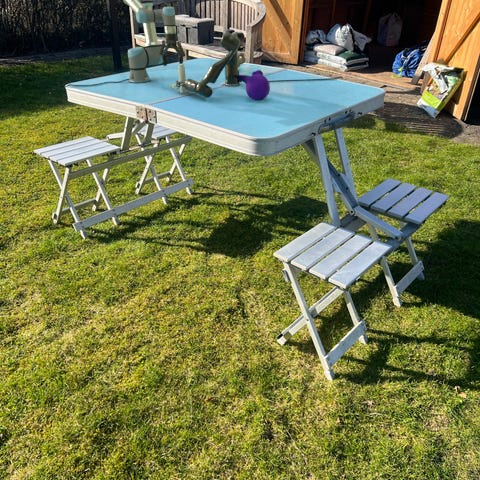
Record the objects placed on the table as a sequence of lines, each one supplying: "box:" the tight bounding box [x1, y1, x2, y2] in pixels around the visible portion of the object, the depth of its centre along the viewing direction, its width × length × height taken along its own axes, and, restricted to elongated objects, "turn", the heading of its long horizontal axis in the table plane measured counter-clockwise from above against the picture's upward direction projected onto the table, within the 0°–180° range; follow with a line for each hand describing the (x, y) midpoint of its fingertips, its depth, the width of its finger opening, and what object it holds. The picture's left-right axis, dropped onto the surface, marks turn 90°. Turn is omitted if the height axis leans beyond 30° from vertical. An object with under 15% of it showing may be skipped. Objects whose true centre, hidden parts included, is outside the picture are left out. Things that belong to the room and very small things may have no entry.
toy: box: [233, 69, 271, 102], centre depth 280 cm, size 16×18×27 cm
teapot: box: [238, 51, 246, 69], centre depth 368 cm, size 21×12×15 cm, turn 120°
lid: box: [171, 83, 180, 90], centre depth 316 cm, size 5×5×2 cm
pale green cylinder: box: [177, 63, 188, 94], centre depth 299 cm, size 4×4×18 cm
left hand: (173, 66), depth 310 cm, fingers open, 13 cm apart
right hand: (181, 81), depth 303 cm, fingers open, 5 cm apart
